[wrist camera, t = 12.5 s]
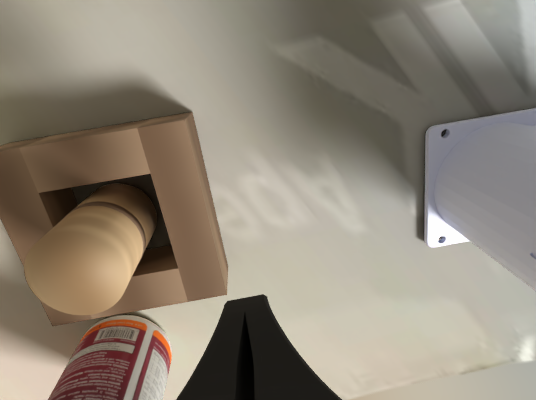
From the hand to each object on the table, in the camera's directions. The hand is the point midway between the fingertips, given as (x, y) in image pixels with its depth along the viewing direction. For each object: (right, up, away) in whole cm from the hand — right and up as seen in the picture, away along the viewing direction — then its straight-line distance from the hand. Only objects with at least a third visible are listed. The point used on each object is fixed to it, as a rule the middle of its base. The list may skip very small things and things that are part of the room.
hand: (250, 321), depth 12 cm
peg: (-8, +4, +9) cm, 13 cm away
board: (-8, +3, +9) cm, 12 cm away
